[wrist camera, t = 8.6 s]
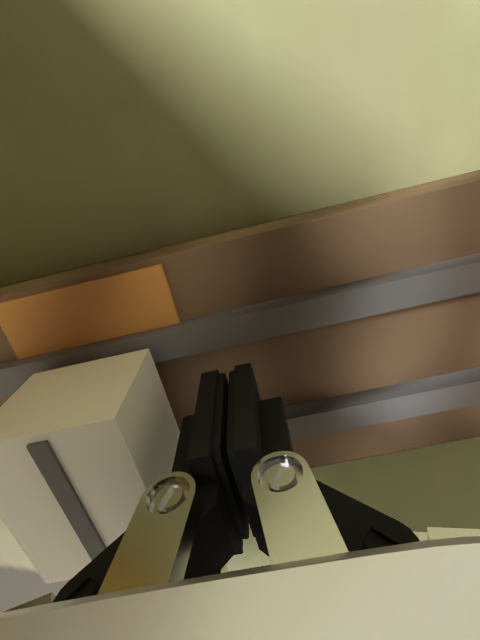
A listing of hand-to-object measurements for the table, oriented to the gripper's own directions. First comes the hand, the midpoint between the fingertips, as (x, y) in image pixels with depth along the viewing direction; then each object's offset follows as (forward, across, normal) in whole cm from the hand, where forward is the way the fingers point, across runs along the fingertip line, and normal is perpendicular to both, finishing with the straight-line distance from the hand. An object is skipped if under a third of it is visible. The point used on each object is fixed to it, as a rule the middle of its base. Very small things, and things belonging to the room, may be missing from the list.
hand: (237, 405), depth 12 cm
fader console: (+4, -3, 0) cm, 5 cm away
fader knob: (+1, +4, 0) cm, 5 cm away
